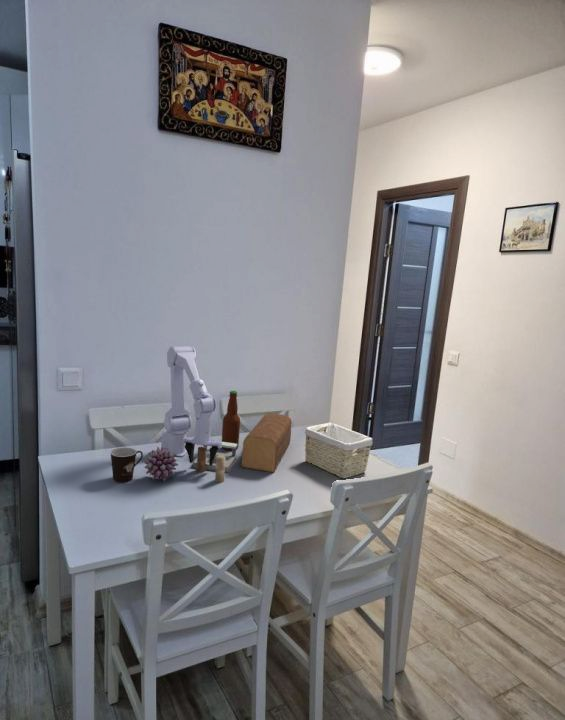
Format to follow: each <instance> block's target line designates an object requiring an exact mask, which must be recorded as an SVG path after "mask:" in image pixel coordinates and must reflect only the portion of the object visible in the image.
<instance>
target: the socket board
mask: <svg viewBox="0 0 565 720" xmlns="http://www.w3.org/2000/svg"><path fill="white" fill-rule="evenodd" d="M221 442H222V441H221ZM237 446H238V447H239V445H238V444H235V443H228V442H222V447H226V448H232V450H231V451H232V452H231V453H223V452H218V451H217V453H216V455H215V458H214V461H213V464H212V466H210V465H209V463H210V450H208V446H204V445H202V447H206V448H207V449H206V466H205V470H210V471H215V472H216V459H217V456H219V455H222V456H225V457H226V459H225V473H229V472H230V470H231V469H232V467H233V466H234V464H235V463H236V462H237V457H238V455H237V454H236V453H237V449H236V447H237ZM222 447H221V448H222ZM192 468H195V469H197V457H196V458H195V459H194V460H193V462H192Z"/></svg>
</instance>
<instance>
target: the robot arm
mask: <svg viewBox="0 0 565 720" xmlns="http://www.w3.org/2000/svg"><path fill="white" fill-rule="evenodd" d="M196 359H197V352H196V348H195V347H194V346H193V345H190V346H189V345H188V346H169V348H168V350H167V352H166V362H167V363H166V364H167V367H169V368H170V392H171V395H170V396H171V397H170V399H171V408H170V409H168V411H166V413H164V414H165V415H164V422H163V427H164V429H165V430H164V431H163V432H162V435H161V444H160V449H161V448H163V449H164V450H166V449H167V448H169V449H168V451H170V453H171V452H172V454H176V456H175V457H184V455H185V454H187V456H188V459H189V460H188V461H189V463H190V464H193V461H194V460H195V459H194V458H195V456H194V454H195V453H194V452H195V447H196V445H197V446H207V447H210V449H209V451H210V463H209V465H210V466H212V464H213V461H214V458H215V455H216V453H217V452H218V451H219V449H221V448H222V441H220V440H215V439H211V438H212V437H211V435H212V422H213V419H212V418H213V412H215V410H216V408H217V407H216V406H217V405H216V400H215V398H214V396H212V394H210V393H209V391H208V389H207V387H206V384H205V381H204V380H202V379H201V378H200V375H199V371H198V369H197V368H198V367H197V365H196ZM184 371H185V374H186V375H187V378H188V379H189V382H190V383H189V386H188V387H189V390H190V393H191V395H192V398H193V400H194V403H193V409H194V417H195V431H194V432H195V433H194V434H195V435H194V436H191V437H190V436H187V434H188V432H189V430H190V429H191V427H192V425H193V424H192V423H193V422H192V418H191V412H190V411H189V410H188V409H187V408H186V407H185V387H184V386H185V385H184V384H185V383H184Z"/></svg>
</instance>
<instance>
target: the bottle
mask: <svg viewBox="0 0 565 720" xmlns="http://www.w3.org/2000/svg"><path fill="white" fill-rule="evenodd" d="M228 396H229V397H228V398H229V399H228V403H227V408H226V410H227V411H226V413H225V415H224V417H223V419H222V430H221V442H228V443H235V444H238V446H237V447H236V450H238V448H239V444H240V442H239V441H240V431H241V430H240V428H241V418H240V416H239V414H238V409H239V408H238V406H239V405H238V399H237V397H238V392H237V391H236V390H230V391H229V395H228ZM221 448H222V449H223V450H225V451H232V448H226V447H221Z"/></svg>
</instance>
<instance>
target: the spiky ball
mask: <svg viewBox="0 0 565 720" xmlns="http://www.w3.org/2000/svg"><path fill="white" fill-rule="evenodd" d="M168 449H169V448H167V449H166V450H164V449H163V448H161V447H159V446H157V447H156V450H154V449H152V450H151V452H150V451H148V455H149V456H146V455H145V458H146V459H147V460H143V464H145V466H144V468H145V469H147V471H146V472H145V474H146V475H147V474H149V476H152V480H155V479H158V480H161V479H162V481H166V477H170V476H171V475H172V476H174V475H175V472H174V471H176V470H177V468H176V467H178V466H179V463H176V462H177V459H176V458H175V457H177V456H176V454H172V452H171V453H170V451H168Z"/></svg>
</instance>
